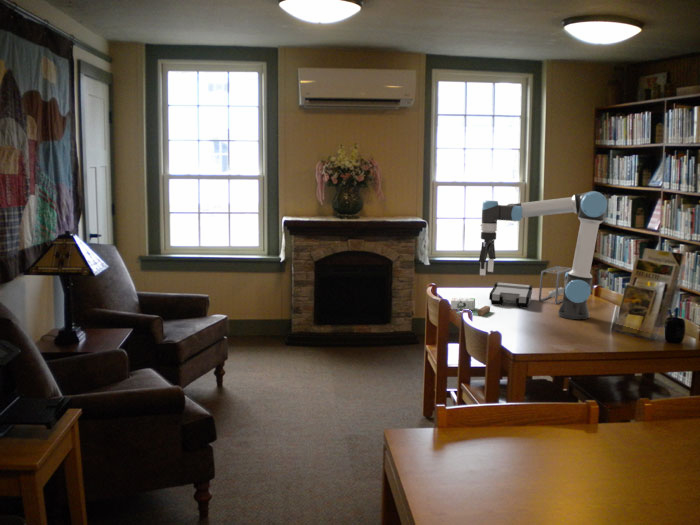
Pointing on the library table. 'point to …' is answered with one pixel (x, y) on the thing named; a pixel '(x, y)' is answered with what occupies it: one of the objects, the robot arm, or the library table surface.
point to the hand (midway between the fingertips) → (486, 273)
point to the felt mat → (475, 313)
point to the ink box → (463, 303)
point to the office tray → (511, 294)
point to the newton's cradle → (557, 290)
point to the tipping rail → (483, 310)
